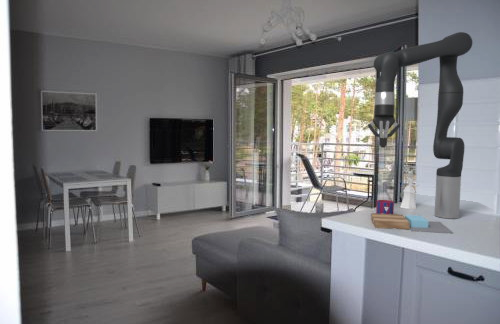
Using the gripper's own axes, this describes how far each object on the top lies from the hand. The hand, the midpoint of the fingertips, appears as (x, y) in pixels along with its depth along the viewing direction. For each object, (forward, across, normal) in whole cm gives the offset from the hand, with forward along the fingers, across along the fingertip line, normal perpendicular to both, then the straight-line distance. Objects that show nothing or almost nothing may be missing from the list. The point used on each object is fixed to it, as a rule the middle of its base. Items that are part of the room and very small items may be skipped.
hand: (382, 147), depth 157 cm
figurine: (+29, -16, -27) cm, 43 cm away
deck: (+29, -2, +10) cm, 31 cm away
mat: (+29, -15, +11) cm, 34 cm away
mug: (+29, -2, -4) cm, 30 cm away
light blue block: (+29, -12, +10) cm, 32 cm away
